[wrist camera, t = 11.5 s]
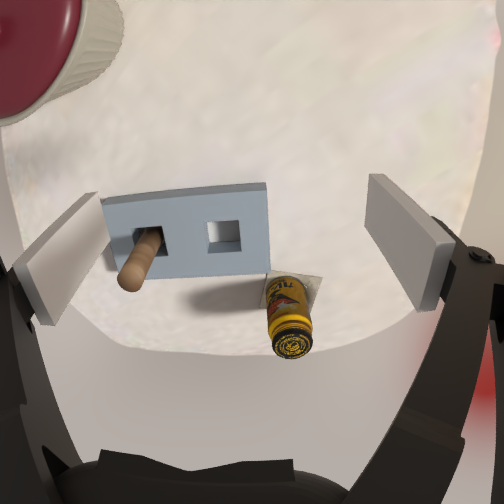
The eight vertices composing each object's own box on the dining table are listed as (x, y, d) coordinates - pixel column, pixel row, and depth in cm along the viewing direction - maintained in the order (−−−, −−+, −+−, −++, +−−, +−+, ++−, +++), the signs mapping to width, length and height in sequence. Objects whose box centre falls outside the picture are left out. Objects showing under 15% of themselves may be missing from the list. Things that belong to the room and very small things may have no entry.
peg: (143, 223, 44) (114, 270, 34) (162, 221, 44) (138, 269, 34) (147, 242, 46) (121, 292, 36) (166, 240, 46) (144, 291, 35)
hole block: (107, 197, 42) (99, 206, 40) (265, 182, 42) (266, 190, 39) (127, 269, 48) (121, 280, 46) (269, 261, 48) (270, 273, 45)
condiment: (268, 269, 48) (273, 325, 38) (322, 277, 49) (339, 331, 39) (259, 306, 52) (261, 364, 42) (309, 312, 53) (321, 368, 43)
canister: (13, 48, 29) (-96, 62, 11) (101, -44, 24) (10, -94, 6) (74, 129, 37) (-31, 182, 19) (175, 38, 32) (103, 6, 14)
